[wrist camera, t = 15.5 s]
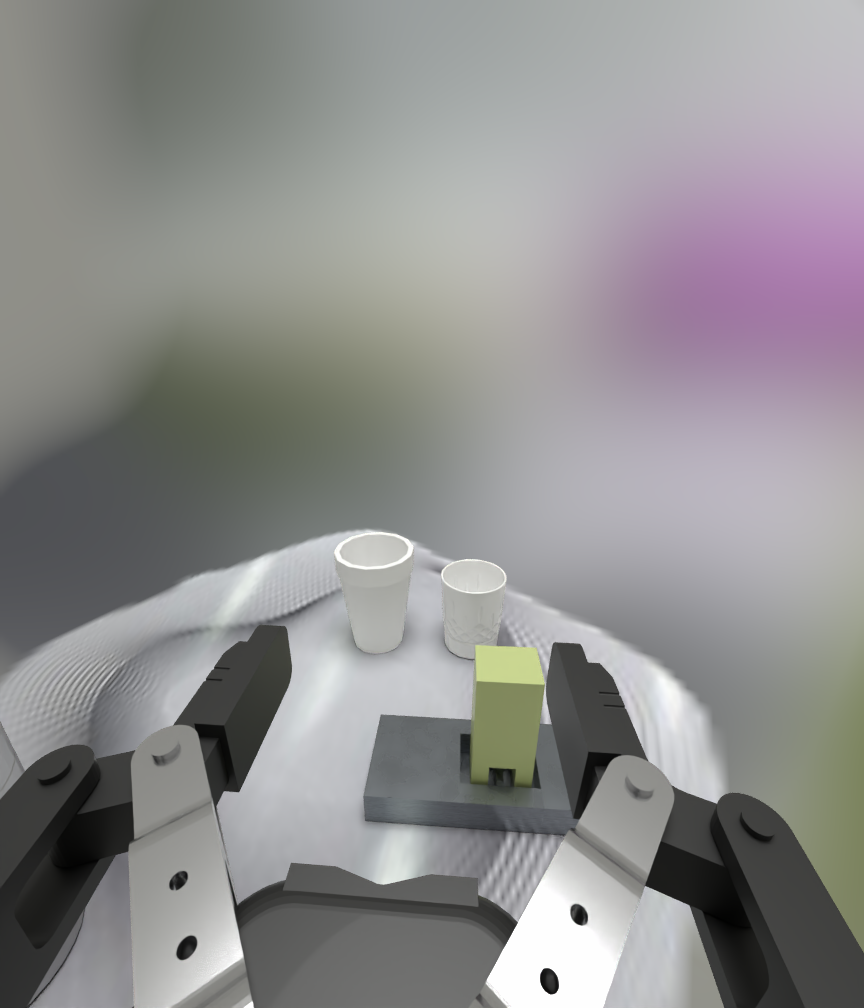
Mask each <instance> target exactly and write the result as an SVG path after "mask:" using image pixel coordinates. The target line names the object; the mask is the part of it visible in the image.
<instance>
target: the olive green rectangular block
mask: <svg viewBox="0 0 864 1008" xmlns="http://www.w3.org/2000/svg"><path fill="white" fill-rule="evenodd" d="M544 687H545V683H544V679H543V675H542V670H541V666H540V661H539V657H538V653H537V648H526V647H505V646H484V645H475V660H474V679H473V699H472V718H471V737H470V757H469V758H470V784H478V785H488V776H489V768H504V769H509V772H510V781H511V787H523V788H531V787H532V779H533V772H534V764H535V756H536V749H537V741H538V733H539V726H540V718H541V710H542V702H543V695H544Z"/></svg>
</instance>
